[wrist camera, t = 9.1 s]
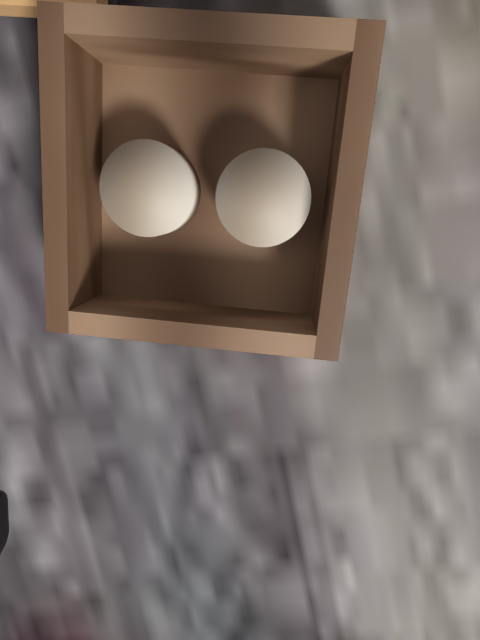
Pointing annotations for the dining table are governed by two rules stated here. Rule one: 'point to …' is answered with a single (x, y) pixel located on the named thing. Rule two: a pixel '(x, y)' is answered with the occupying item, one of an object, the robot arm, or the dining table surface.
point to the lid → (32, 6)
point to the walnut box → (203, 173)
